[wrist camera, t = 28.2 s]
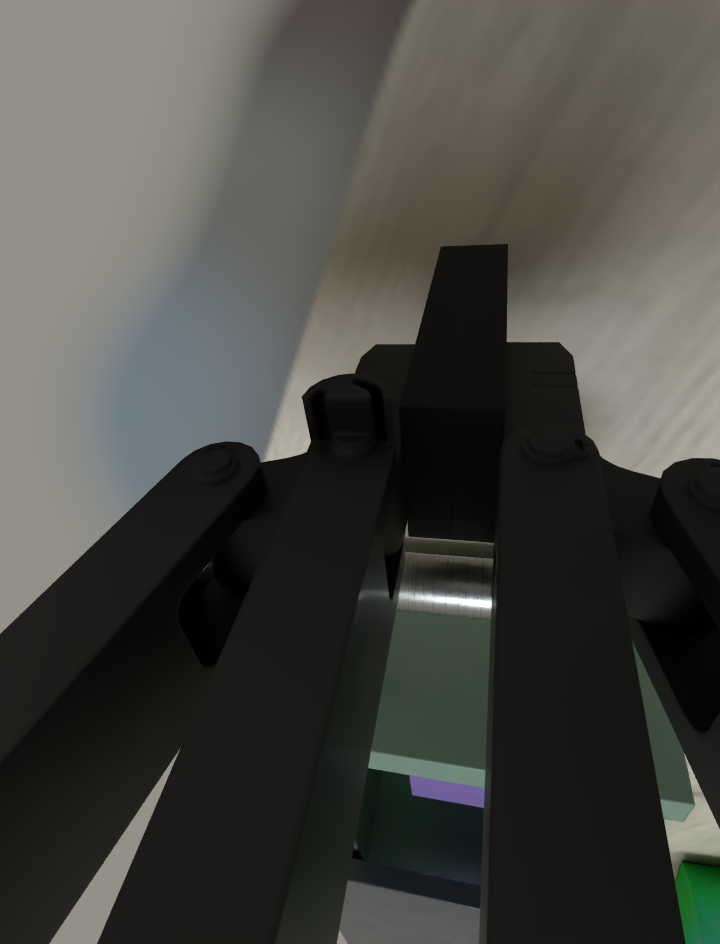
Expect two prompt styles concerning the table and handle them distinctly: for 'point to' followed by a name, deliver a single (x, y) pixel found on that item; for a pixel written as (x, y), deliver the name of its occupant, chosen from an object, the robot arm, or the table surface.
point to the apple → (699, 902)
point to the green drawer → (456, 724)
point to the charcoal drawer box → (408, 907)
